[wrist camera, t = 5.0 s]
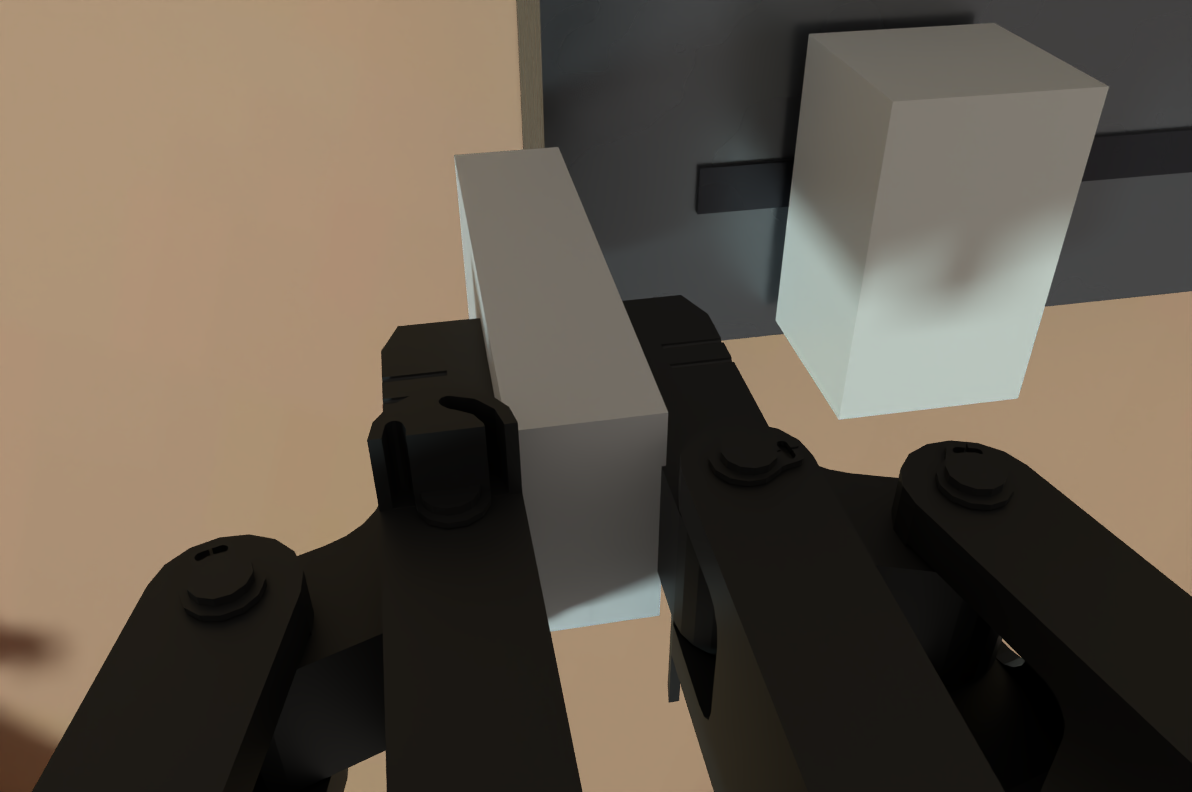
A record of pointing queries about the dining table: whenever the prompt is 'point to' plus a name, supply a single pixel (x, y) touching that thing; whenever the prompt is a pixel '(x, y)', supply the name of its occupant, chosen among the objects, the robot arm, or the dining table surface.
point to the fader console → (770, 124)
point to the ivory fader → (929, 212)
